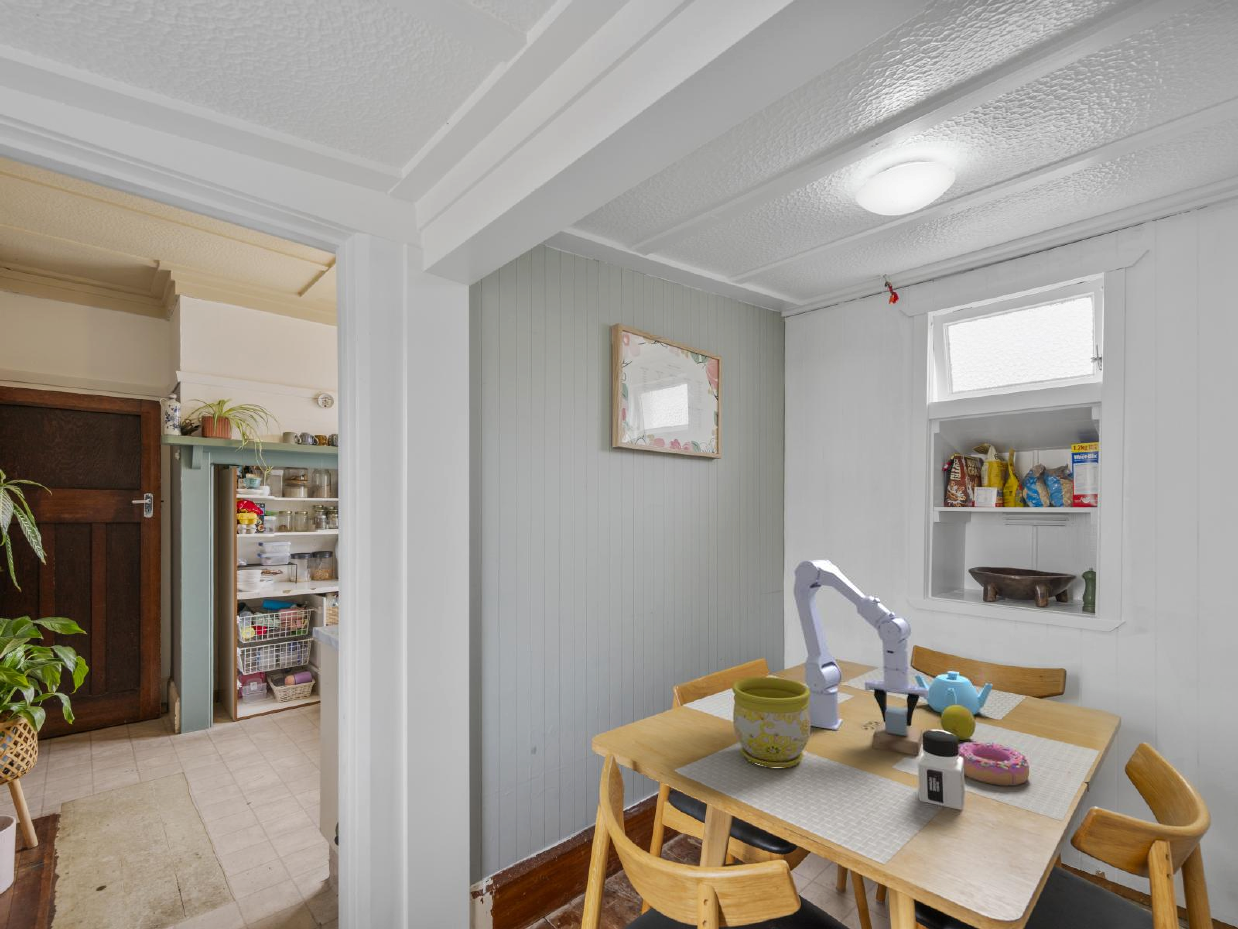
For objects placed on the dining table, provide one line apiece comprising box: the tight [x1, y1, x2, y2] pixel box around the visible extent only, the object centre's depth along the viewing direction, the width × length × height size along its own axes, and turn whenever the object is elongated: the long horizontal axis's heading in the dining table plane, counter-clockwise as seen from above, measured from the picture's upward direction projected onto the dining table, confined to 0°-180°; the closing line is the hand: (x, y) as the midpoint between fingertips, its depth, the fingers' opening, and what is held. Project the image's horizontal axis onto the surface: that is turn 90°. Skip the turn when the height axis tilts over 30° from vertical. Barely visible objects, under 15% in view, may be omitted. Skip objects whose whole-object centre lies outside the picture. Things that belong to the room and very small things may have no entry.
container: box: [917, 729, 966, 811], centre depth 128 cm, size 8×8×13 cm
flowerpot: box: [731, 676, 811, 768], centre depth 149 cm, size 18×18×16 cm
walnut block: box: [872, 721, 923, 756], centre depth 156 cm, size 10×10×3 cm
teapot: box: [914, 670, 993, 716], centre depth 181 cm, size 15×15×11 cm
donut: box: [958, 741, 1030, 786], centre depth 139 cm, size 14×14×5 cm
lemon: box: [940, 705, 976, 741], centre depth 160 cm, size 11×8×8 cm
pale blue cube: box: [884, 705, 910, 736], centre depth 156 cm, size 5×5×5 cm
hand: (897, 723), depth 156 cm, fingers closed on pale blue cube, 5 cm apart
